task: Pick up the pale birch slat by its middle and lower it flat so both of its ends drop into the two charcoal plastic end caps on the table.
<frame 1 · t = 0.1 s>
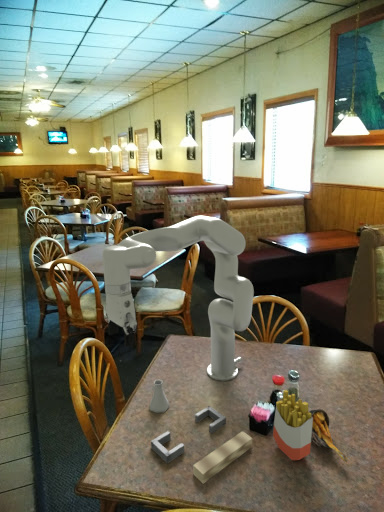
hand: (121, 339, 115), 31 cm above the table, tool pointing down, fingers open, 9 cm apart
birch slat: (223, 460, 108), on the table
flask: (159, 407, 131), on the table
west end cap: (210, 422, 123), on the table
french fries container: (290, 452, 110), on the table
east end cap: (167, 449, 112), on the table
fried food: (323, 444, 113), on the table
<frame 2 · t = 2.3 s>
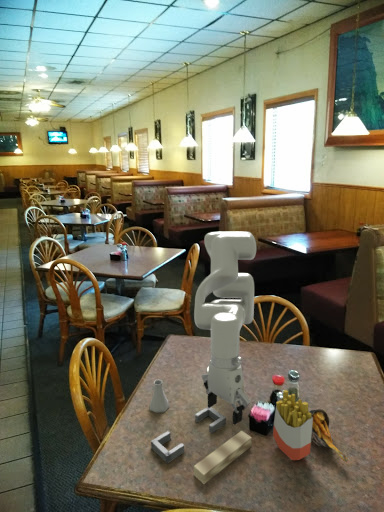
hand: (224, 413, 103), 16 cm above the table, tool pointing down, fingers open, 9 cm apart
nothing on the table moved.
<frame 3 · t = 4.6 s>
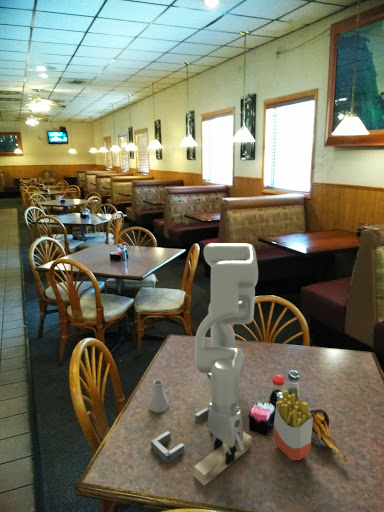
hand: (224, 456, 107), 1 cm above the table, tool pointing down, fingers closed on birch slat, 4 cm apart
birch slat: (224, 460, 107), on the table, touching gripper
everything else where it was.
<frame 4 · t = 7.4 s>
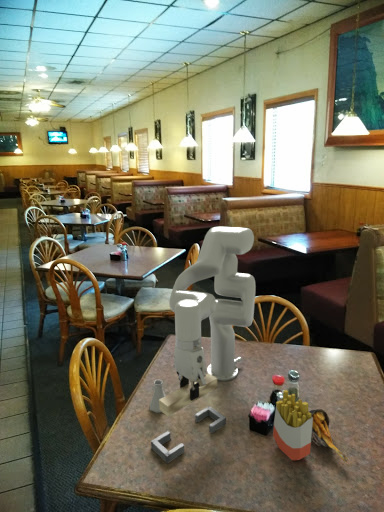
hand: (189, 394, 113), 15 cm above the table, tool pointing down, fingers closed on birch slat, 4 cm apart
birch slat: (189, 398, 114), point 14 cm above the table, touching gripper
everything else where it was.
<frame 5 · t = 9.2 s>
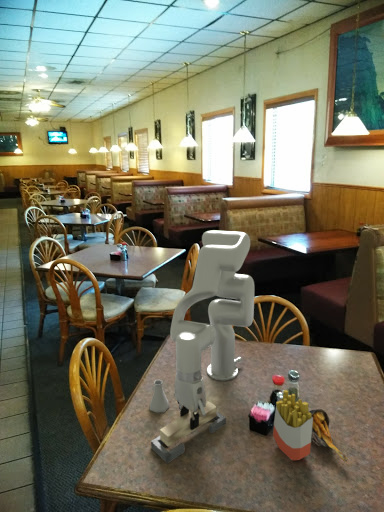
hand: (189, 423, 116), 5 cm above the table, tool pointing down, fingers closed on birch slat, 4 cm apart
birch slat: (189, 427, 116), point 3 cm above the table, touching gripper
everything else where it was.
when the fingers open (3 cm above the table, at t = 10.4 s): birch slat drops 2 cm, on the table.
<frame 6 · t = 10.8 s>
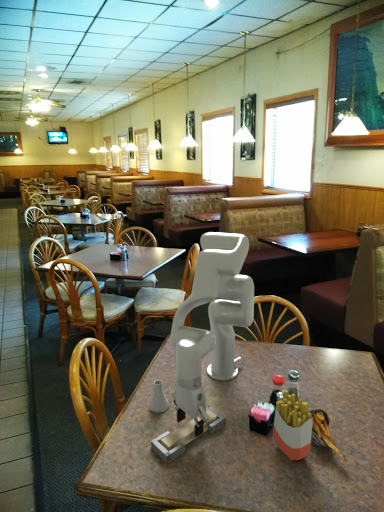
hand: (189, 426, 117), 3 cm above the table, tool pointing down, fingers open, 8 cm apart
birch slat: (190, 436, 118), on the table
everything else where it was.
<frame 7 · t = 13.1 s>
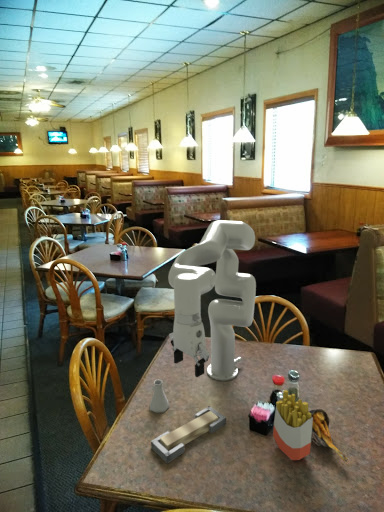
hand: (188, 368, 111), 24 cm above the table, tool pointing down, fingers open, 9 cm apart
nothing on the table moved.
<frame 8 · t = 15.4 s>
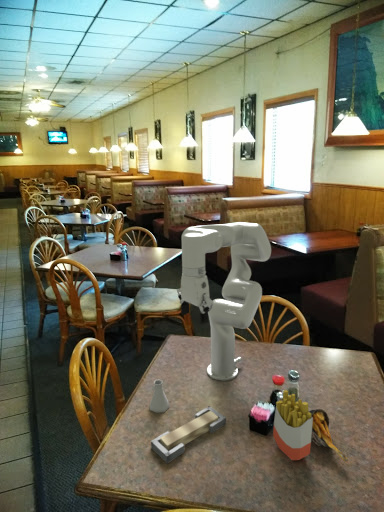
hand: (194, 318, 126), 32 cm above the table, tool pointing down, fingers open, 9 cm apart
nothing on the table moved.
at the end: birch slat 0.1 cm from the target spot, on the table; birch slat tilted 0°; the gripper is holding nothing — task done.
